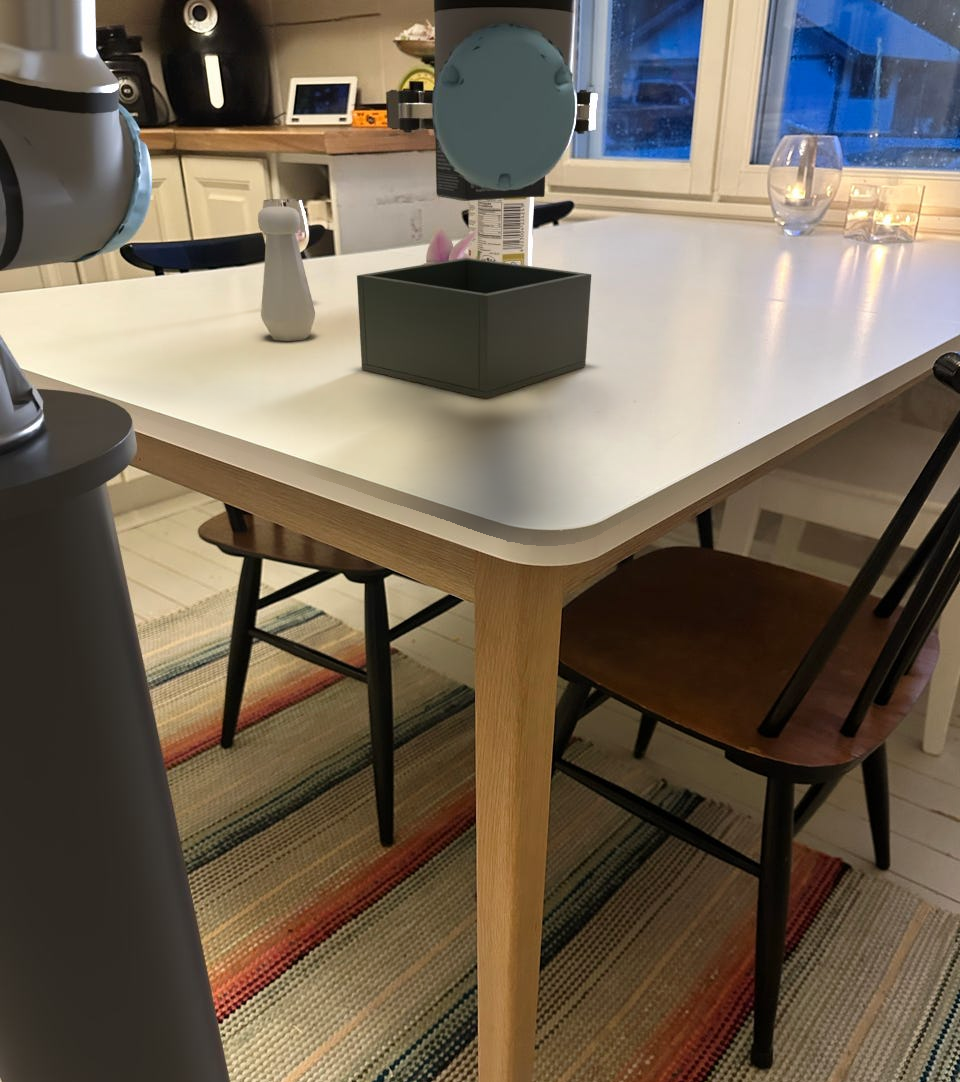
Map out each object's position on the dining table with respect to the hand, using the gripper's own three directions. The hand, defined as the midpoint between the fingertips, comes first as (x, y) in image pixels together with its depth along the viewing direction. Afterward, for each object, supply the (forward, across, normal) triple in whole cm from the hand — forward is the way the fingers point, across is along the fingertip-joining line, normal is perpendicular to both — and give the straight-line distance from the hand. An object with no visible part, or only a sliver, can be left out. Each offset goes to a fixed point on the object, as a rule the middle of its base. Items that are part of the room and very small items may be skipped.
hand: (489, 110), depth 79 cm
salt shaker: (+13, -21, -22) cm, 33 cm away
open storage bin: (0, -1, -22) cm, 22 cm away
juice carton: (+47, +3, -22) cm, 52 cm away
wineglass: (+32, -24, -22) cm, 46 cm away
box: (-4, 0, -7) cm, 8 cm away
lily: (+29, -5, -22) cm, 37 cm away
